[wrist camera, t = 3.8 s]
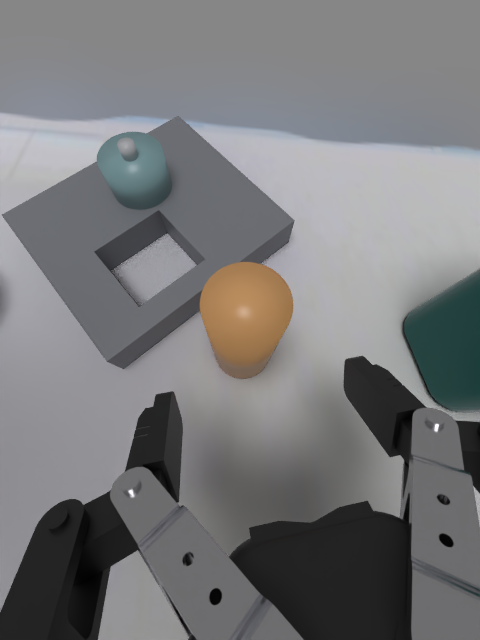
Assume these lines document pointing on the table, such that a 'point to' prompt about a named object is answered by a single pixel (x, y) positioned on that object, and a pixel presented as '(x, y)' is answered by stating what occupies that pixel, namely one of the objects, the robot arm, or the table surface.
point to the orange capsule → (245, 316)
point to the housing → (145, 231)
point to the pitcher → (449, 344)
